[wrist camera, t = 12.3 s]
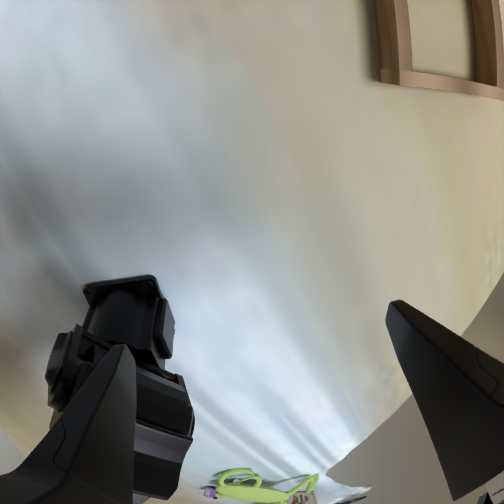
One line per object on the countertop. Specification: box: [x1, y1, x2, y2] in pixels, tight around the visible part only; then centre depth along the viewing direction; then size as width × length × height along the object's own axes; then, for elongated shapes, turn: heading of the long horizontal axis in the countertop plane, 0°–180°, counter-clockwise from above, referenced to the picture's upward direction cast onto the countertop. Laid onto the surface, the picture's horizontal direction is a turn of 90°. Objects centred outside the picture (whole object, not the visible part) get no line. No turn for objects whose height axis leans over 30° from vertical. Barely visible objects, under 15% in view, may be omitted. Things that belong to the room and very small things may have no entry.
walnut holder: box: [374, 0, 504, 101], centre depth 14 cm, size 11×11×2 cm
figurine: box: [204, 468, 319, 504], centre depth 54 cm, size 18×27×6 cm
